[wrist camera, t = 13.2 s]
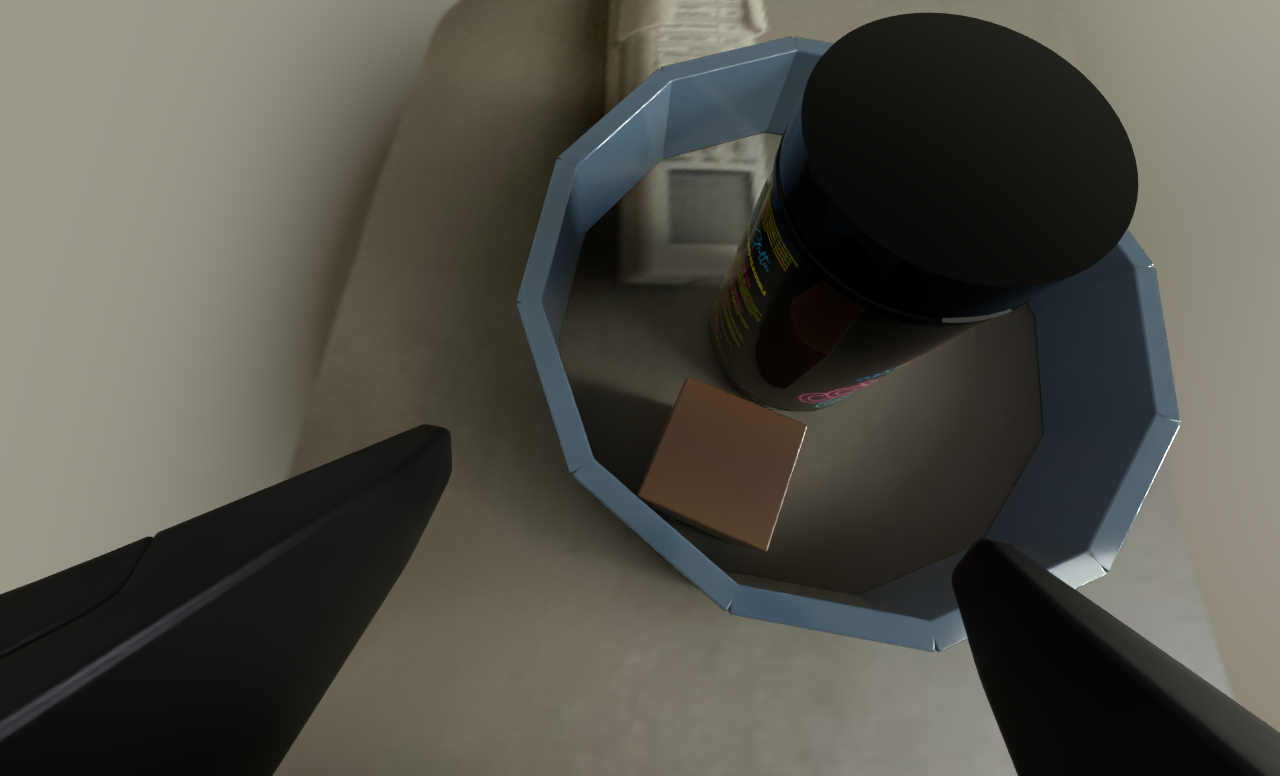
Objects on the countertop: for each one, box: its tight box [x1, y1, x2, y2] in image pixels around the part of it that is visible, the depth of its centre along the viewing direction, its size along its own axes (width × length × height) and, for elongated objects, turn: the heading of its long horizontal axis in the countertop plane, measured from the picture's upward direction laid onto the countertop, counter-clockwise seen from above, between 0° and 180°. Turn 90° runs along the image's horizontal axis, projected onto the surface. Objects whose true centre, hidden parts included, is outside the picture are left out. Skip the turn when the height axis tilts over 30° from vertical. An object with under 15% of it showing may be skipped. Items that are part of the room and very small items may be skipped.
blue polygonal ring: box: [517, 36, 1180, 652], centre depth 17 cm, size 22×22×4 cm
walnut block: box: [636, 377, 807, 552], centre depth 15 cm, size 4×4×4 cm
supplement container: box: [709, 13, 1138, 412], centre depth 14 cm, size 7×7×10 cm
